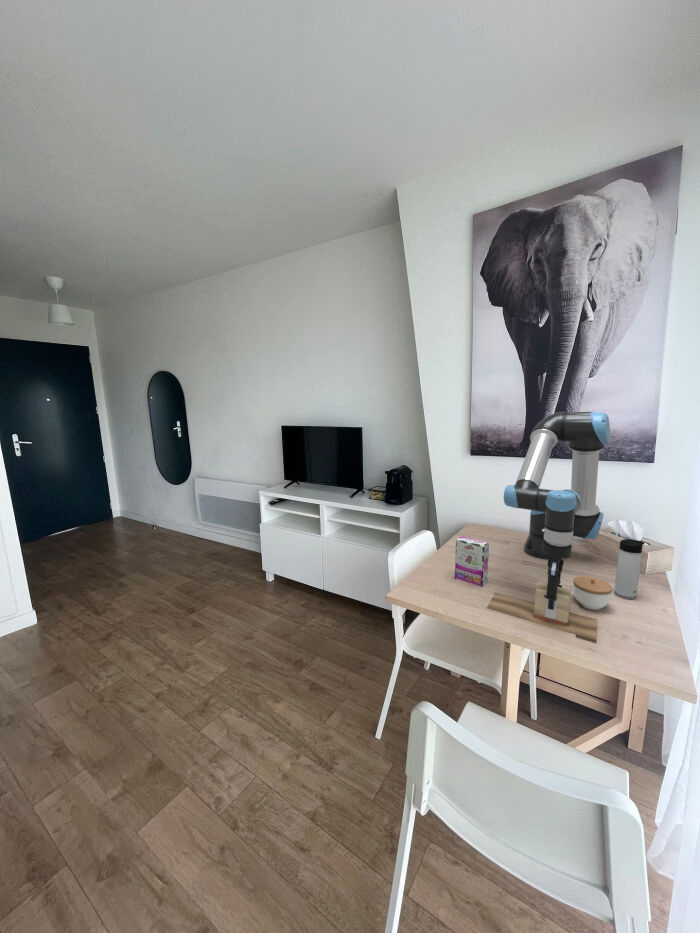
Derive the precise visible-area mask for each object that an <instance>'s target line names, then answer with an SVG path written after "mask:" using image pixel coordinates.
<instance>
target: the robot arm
mask: <svg viewBox="0 0 700 933" xmlns="http://www.w3.org/2000/svg"><path fill="white" fill-rule="evenodd" d="M610 423H611V422H610V419H609V416H608V414H607V413H605V412H602V411H598V412H597V411H566V412H565V411H559V412H555V413H552V414H549V415H548V416H545V418H542V420H540V421H539V422H538V423H537V424H536V425H535V426H534V428H533V429H532V431H531V434H530V436H529V441H530V444H529V447H528V450H527V452H526V455H525V457H524V460H523V462H522V465H521V469H520V471H519V474H518V476H517V479H516V481H515V484H508V485H507V486H506V487H505V488H504V492H503V502H504V505H505V506H506V507H511V508H514V509H521V510H529V511H530V512H529V514H530V518H529V534H528V536H527V538H526V540H525V542H524V544H523V551H524V552H525V553H526V554H527V555H530V557H535V558H537V559H543V560H547V566H548V567H547V583H546V584H547V595H544V597H545V598H546V612H545V617H548V618H551V619H555V618H556V606H557V588H558V587H561V588H563V585H562V584H561V583H562V582H561V576H562V572H563V567H564V564H565V563H564V562H565V559H566V560H567V559H569V558H571V556H572V549H573V545H572V544H573V537H577V538H582V539H588V540H596V539H597V538H598V537H599V535H600V534H599V533H600V530H601V526H602V523H603V519H604V516H605V515H604V512H602V511H600V507H599V506H598V504H596V500H597V485H598V472H599V458H600V452H601V451H603V450H604V449H605V445H609V443H610V440H611V426H610ZM557 443H568V449H569V450H571V451H572V457H571V458H572V459H571V465H572V466H571V483H570V484H571V486H570V487H571V488H570V489H560V490H559V489H546V488H540V486H541V484H542V481H543V477H544V475H545V471H546V469H547V465H548V462H549V459H550V456H551V453H552V450H553V448H554V447H555V446H557Z"/></svg>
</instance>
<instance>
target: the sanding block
mask: <svg viewBox="0 0 700 933" xmlns="http://www.w3.org/2000/svg"><path fill="white" fill-rule="evenodd" d="M544 595H547V583H544V582H537V586H536V588H535V596H534V603H535V606H534V617H537V618H540V619H544V620H547V621H551V622H554V623H558V624H561V625H565V626H567V623H568V618H569V612H570V608H571V607H570V606H571V596H572V589H569V588H566V587H562V588H561V587H558V588H557V606H556V618H555V619H551V618H548V617H545V612H546V598H545V597H544Z"/></svg>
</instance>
